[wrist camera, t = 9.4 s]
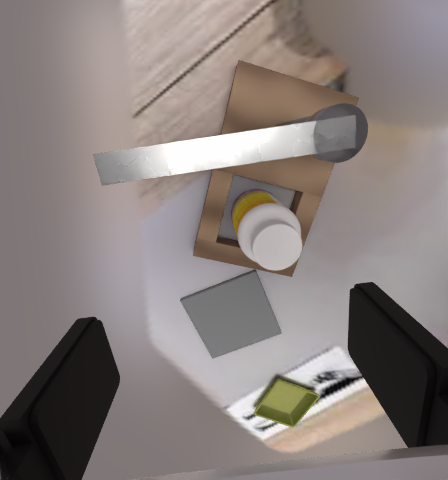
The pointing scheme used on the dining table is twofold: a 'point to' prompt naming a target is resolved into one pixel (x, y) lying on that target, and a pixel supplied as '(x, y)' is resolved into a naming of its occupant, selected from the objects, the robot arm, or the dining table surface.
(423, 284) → the dining table surface
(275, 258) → the supplement bottle
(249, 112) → the collar stand
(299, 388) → the olive square tray
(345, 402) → the dining table surface
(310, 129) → the retention bar
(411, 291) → the dining table surface
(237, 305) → the coaster pad
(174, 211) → the dining table surface
